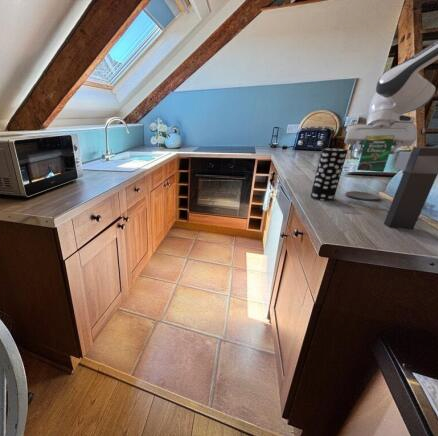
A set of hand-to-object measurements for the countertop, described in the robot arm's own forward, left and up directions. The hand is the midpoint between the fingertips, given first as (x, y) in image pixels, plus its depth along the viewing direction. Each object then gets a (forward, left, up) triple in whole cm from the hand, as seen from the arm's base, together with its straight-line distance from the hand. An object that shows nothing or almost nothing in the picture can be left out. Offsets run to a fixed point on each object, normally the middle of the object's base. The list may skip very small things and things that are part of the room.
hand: (375, 152), depth 92 cm
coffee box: (0, 0, -7) cm, 7 cm away
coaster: (-5, -5, -19) cm, 20 cm away
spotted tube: (+12, -6, -19) cm, 23 cm away
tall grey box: (+9, +22, -19) cm, 30 cm away
